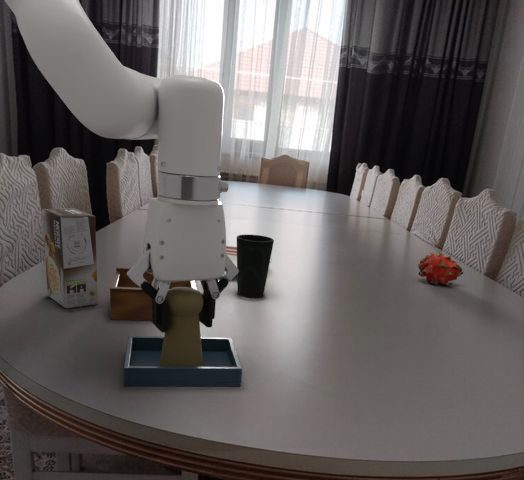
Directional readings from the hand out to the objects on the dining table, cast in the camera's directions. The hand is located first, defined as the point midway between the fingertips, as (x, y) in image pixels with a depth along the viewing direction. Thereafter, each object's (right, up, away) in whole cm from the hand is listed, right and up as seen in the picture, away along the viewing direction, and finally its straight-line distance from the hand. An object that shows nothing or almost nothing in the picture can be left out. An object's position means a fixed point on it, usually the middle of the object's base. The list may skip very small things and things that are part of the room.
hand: (183, 325), depth 71 cm
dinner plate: (-1, +17, +60) cm, 62 cm away
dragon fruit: (+57, +14, +66) cm, 88 cm away
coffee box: (-25, +6, +26) cm, 36 cm away
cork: (-1, -6, +2) cm, 6 cm away
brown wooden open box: (-9, +5, +26) cm, 28 cm away
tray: (-1, -6, +2) cm, 6 cm away
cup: (+8, +8, +40) cm, 42 cm away
